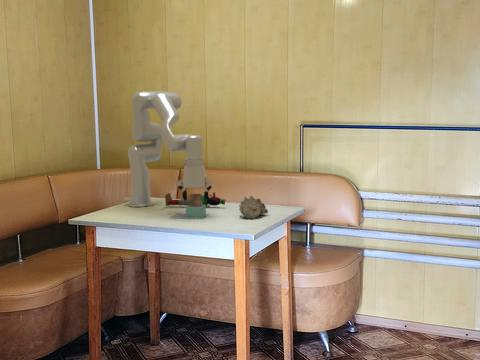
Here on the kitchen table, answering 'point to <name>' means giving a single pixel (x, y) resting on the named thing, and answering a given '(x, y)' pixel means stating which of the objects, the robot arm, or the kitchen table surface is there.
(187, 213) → the teal brick
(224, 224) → the kitchen table surface
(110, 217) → the kitchen table surface
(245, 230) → the kitchen table surface
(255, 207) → the seashell
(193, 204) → the walnut block
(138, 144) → the robot arm
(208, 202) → the toy
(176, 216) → the build board
